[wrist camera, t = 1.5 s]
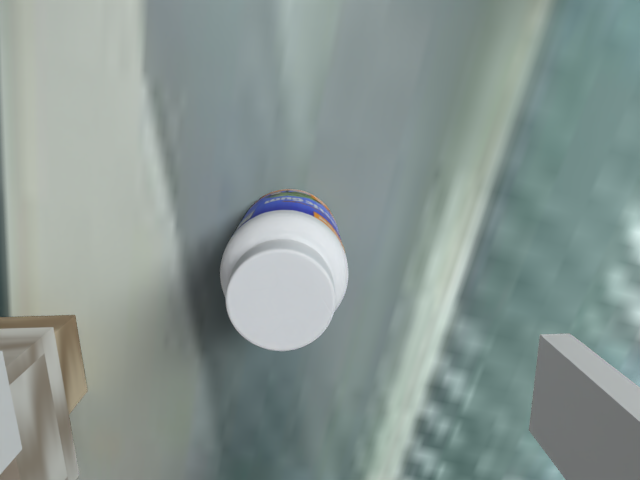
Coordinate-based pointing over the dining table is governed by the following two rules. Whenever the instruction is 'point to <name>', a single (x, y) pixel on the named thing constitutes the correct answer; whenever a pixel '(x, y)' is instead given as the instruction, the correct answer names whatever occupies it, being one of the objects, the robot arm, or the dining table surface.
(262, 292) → the pill bottle
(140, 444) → the dining table surface
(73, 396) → the open box
